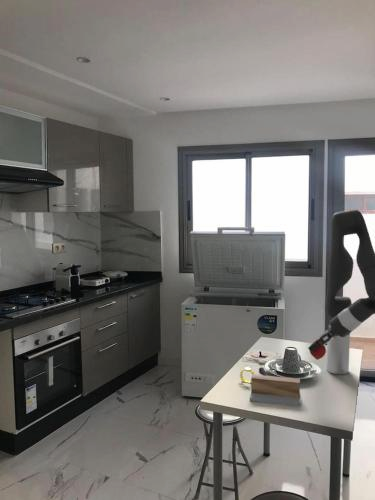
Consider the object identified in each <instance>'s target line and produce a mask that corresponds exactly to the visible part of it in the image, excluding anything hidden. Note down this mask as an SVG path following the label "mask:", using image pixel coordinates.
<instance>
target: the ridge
mask: <svg viewBox="0 0 375 500" xmlns="http://www.w3.org/2000/svg"><path fill="white" fill-rule="evenodd" d="M254 374H255V373H254ZM254 374H252V373H251V379H250V380H251V383H250V387H251V388H250V394H251V393H256V394H265V395H275V396H284V397H293V398H300V395H301V394H300V393H301V392H300V389H301V379H300V378H295V377H294V378H293V377H284V376H272V375H269V376H264V375H263V374H255V375H254Z"/></svg>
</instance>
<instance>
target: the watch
mask: <svg viewBox="0 0 375 500" xmlns="http://www.w3.org/2000/svg"><path fill="white" fill-rule="evenodd" d="M244 371H245V372H250V373H251V375H252V374H254V375H256V374H255V373H254V371H253V370H252V367H248V366H247V367H244V369H242V370H241V372H240V375H239V377H240V379H241V381H242V382H243V383H248V384H251V381H250V380H246V379H245V378H244V376H243V372H244Z"/></svg>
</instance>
